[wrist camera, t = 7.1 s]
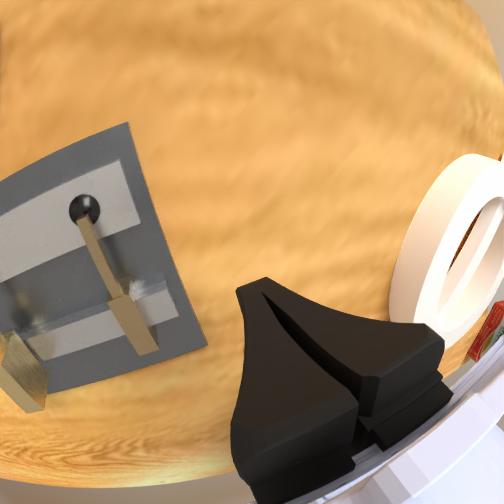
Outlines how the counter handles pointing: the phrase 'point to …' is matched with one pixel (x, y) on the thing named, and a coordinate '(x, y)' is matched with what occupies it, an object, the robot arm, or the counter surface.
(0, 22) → the counter surface
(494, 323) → the medicine box
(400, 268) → the white circle with bar
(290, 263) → the counter surface
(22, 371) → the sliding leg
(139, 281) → the grey mechanism base plate
